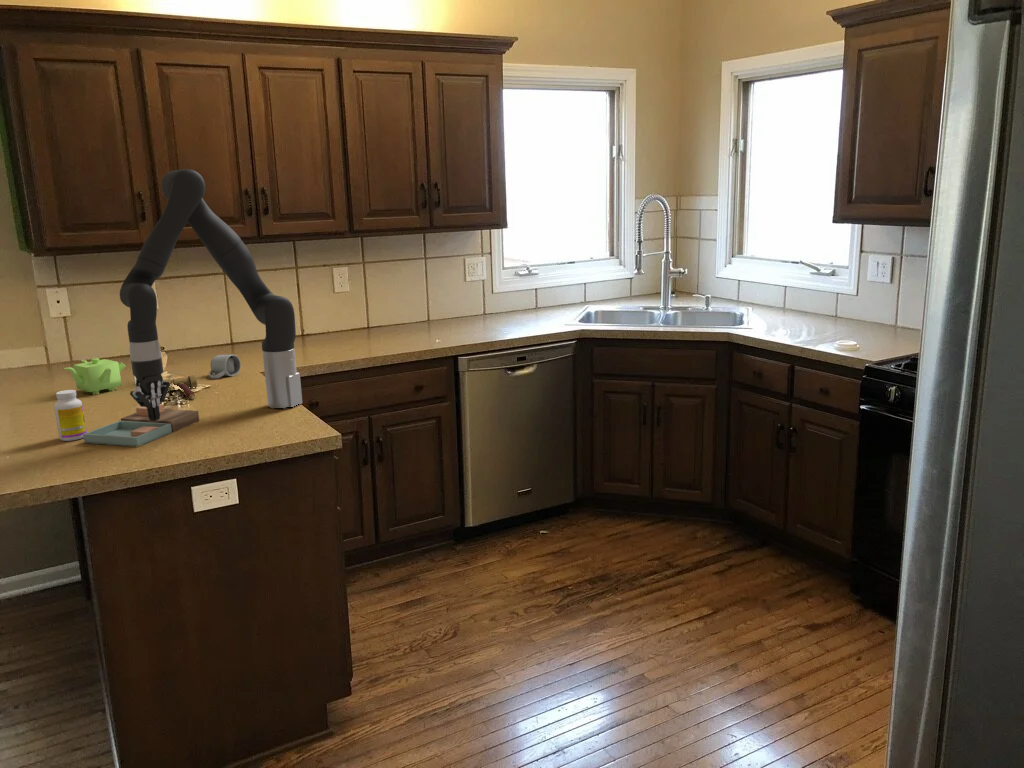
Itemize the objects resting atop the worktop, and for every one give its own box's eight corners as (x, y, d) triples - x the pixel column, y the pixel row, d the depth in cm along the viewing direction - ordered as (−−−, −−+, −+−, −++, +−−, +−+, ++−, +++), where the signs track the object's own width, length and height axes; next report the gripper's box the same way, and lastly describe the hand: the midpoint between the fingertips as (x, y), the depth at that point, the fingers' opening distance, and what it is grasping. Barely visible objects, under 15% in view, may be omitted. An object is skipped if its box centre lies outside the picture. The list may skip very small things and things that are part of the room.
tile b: (163, 411, 232) (162, 404, 231) (151, 415, 227) (150, 408, 227) (149, 410, 233) (148, 403, 233) (136, 414, 229) (135, 408, 228)
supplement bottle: (91, 437, 219) (84, 391, 216) (65, 443, 214) (57, 396, 211) (81, 433, 224) (74, 387, 221) (55, 438, 219) (47, 392, 216)
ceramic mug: (224, 372, 296) (222, 351, 294) (242, 373, 293) (239, 352, 291) (203, 379, 287) (200, 357, 285) (221, 380, 284) (218, 359, 282)
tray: (172, 432, 221) (170, 423, 220) (137, 447, 209) (136, 437, 208) (120, 429, 226) (119, 420, 225) (84, 443, 214) (82, 434, 213)
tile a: (146, 432, 213) (147, 439, 213) (159, 427, 217) (160, 434, 218) (130, 431, 214) (131, 438, 215) (143, 426, 219) (145, 433, 219)
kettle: (68, 398, 265) (62, 364, 262) (83, 388, 278) (77, 356, 276) (117, 394, 267) (112, 361, 265) (129, 385, 281) (124, 353, 278)
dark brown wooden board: (199, 421, 232) (198, 410, 231) (173, 432, 221) (171, 421, 221) (149, 418, 236) (148, 408, 236) (122, 428, 226) (120, 418, 226)
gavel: (208, 388, 258) (175, 394, 253) (210, 402, 259) (177, 408, 254) (193, 373, 275) (161, 378, 270) (194, 386, 276) (163, 391, 271)
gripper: (139, 362, 209) (149, 427, 213) (174, 352, 221) (182, 414, 225) (116, 362, 211) (125, 426, 215) (151, 352, 223) (160, 413, 227)
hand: (154, 419), depth 220 cm, fingers closed
